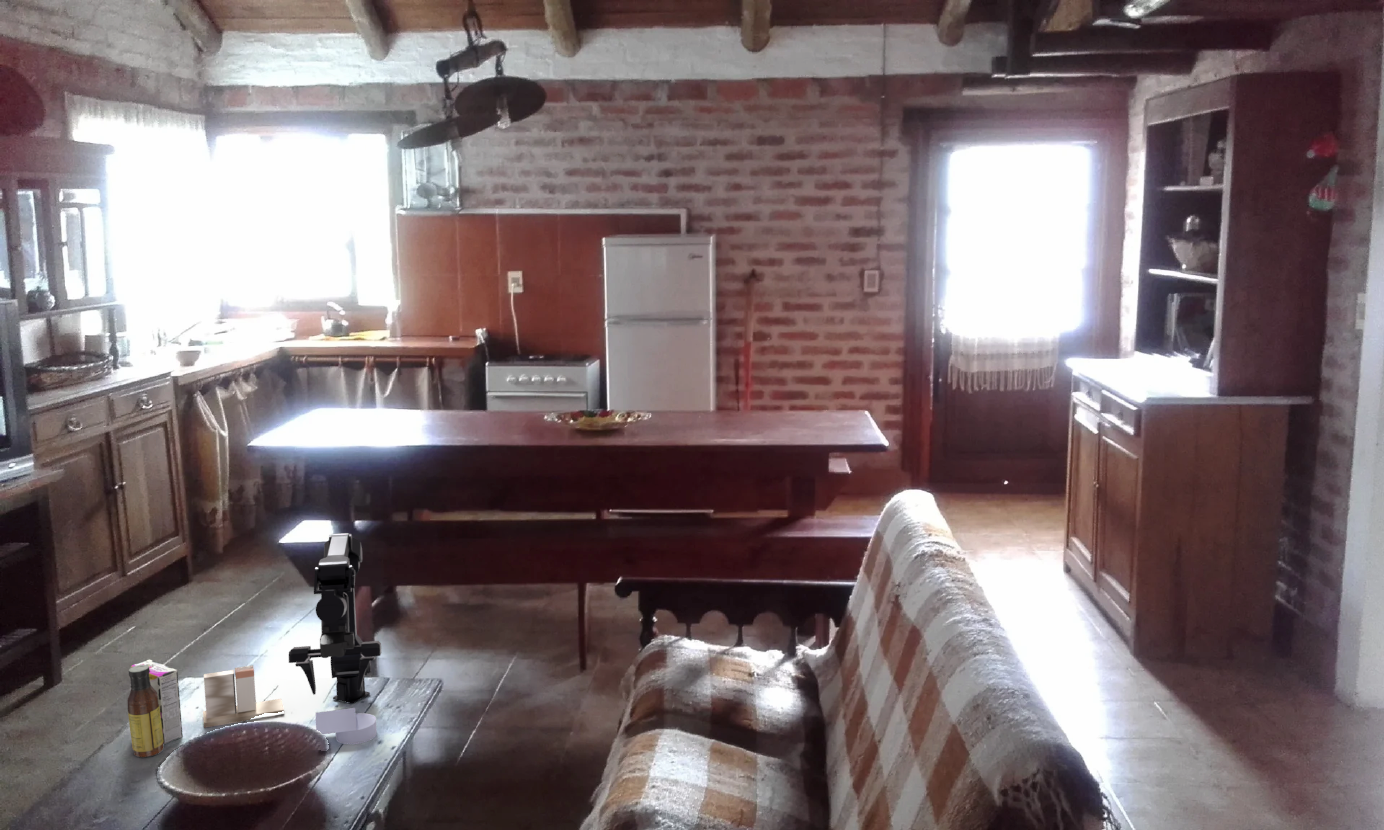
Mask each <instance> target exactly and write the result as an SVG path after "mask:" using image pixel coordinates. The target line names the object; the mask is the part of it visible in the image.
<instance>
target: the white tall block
mask: <svg viewBox="0 0 1384 830" xmlns="http://www.w3.org/2000/svg"><path fill="white" fill-rule="evenodd" d="M254 669H255V668H254V665H245V666H239V667H234V679H235V694H236V706H237V708H238V713H239V712H245V711H251V710H256V703H257V700H256V684H255V670H254Z"/></svg>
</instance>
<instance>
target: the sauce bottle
mask: <svg viewBox="0 0 1384 830" xmlns="http://www.w3.org/2000/svg"><path fill="white" fill-rule="evenodd" d="M149 672H150V670H149V666H148V665H137V666H134V667H132V668H131V667H130V668H129V669H128V676H129V678H130V691H129V696H128V697H127V714H128V715H127V716H128V724H129V725H128V726H129V732H130V738H131V748H132V751H133V755H135V756H136V757H137V758H148V757H154V756H156V755H159V754H160V753H161V752H162V751H163V750H164V744H163V742H164V740H163V732H162V724H161V716H160V707H159V704H158V696H157V692H156V691H155V689H154V688H153V687H152V686H151V683H150V679H149Z"/></svg>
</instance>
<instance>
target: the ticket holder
mask: <svg viewBox="0 0 1384 830" xmlns="http://www.w3.org/2000/svg"><path fill="white" fill-rule="evenodd" d="M203 683H204V684H203V686H204V697H205V701H204V702H205V710H203V711H202V715H203V718H202V719H203V728H204V729H206V728H212V727H218V726H223V725H224V726H225V725H229V724H235V723H241V721H242V722H247V721H246V720H248V721H251V720H250V719H251V718H254V717H255V716H259V715H262V714H264V713H278V712H282V711H284V712H285V708H284V704H283V700H282V698H276V699H270V700H266V701H265V700H264V701H258V702H257V701H256V710H251V711H245V712H239V713H238V708H237V693H236V678H235V669H230V670H223V671H217V672H211V673H210V672H209V673H204V674H203Z"/></svg>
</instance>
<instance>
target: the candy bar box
mask: <svg viewBox="0 0 1384 830" xmlns="http://www.w3.org/2000/svg"><path fill="white" fill-rule="evenodd" d="M137 665H148V666H149V670H150V672H149V679H150V683H151V686H152V687H153V688H154V689H155V691H156V692H157V696H158V704H159V707H160V716H161V724H162V732H163V740H164V742H163V745H165V744H168V743H170V742H173V741H176V740H178V739H180V738H183V737H184V736H183V725H182V723H183V722H182V713H181V712H182V711H181V700H180V688H179V687H180V686H179V674H178V673H179V672H178V669H176V668H173V667H170V666H169V665H168V666H167V665H165V664H162V663H159V662H156V661H155V660H152V659H147V660H146V659H145V660H143V661H141V662H138V663H134V664H132V665H131V666H130V668H132V667H134V666H137Z"/></svg>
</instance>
